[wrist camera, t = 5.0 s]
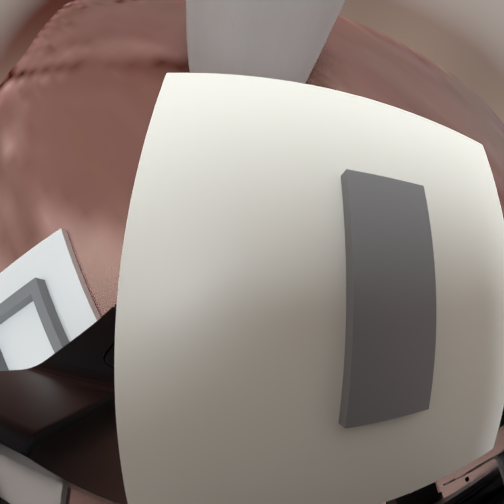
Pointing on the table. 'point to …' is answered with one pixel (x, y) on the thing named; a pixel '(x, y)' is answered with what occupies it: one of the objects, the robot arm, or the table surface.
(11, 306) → the dock plate
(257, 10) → the utensil holder
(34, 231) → the table surface
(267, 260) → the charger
